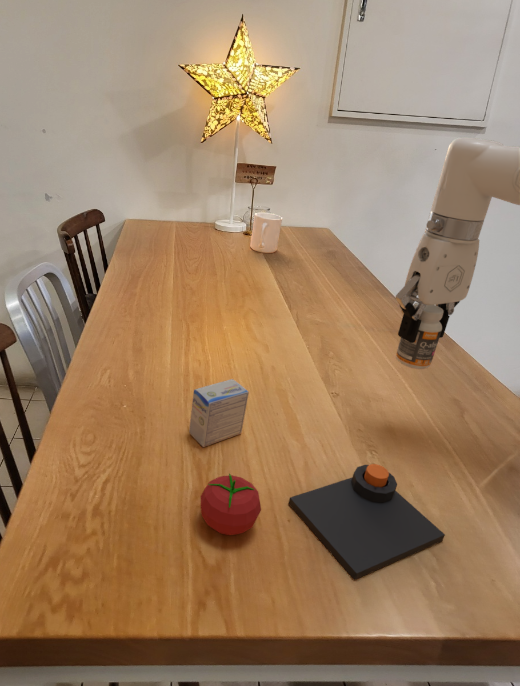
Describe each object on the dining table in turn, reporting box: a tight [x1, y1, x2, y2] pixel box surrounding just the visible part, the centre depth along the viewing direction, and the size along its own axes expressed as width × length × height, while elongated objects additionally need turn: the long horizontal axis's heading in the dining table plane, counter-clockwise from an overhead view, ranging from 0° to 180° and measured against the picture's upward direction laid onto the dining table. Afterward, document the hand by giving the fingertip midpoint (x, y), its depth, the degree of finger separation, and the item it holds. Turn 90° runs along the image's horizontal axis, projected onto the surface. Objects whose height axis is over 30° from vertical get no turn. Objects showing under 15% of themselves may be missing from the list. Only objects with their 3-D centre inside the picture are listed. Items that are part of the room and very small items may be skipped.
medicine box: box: [188, 378, 250, 448], centre depth 87 cm, size 8×4×9 cm, turn 126°
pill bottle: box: [395, 302, 444, 370], centre depth 88 cm, size 6×6×10 cm
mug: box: [249, 211, 283, 254], centre depth 184 cm, size 10×12×12 cm
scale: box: [288, 464, 446, 581], centre depth 74 cm, size 16×14×3 cm
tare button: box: [364, 463, 390, 487], centre depth 78 cm, size 3×3×2 cm
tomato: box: [200, 473, 262, 536], centre depth 70 cm, size 8×8×8 cm
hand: (420, 335), depth 88 cm, fingers closed on pill bottle, 5 cm apart
